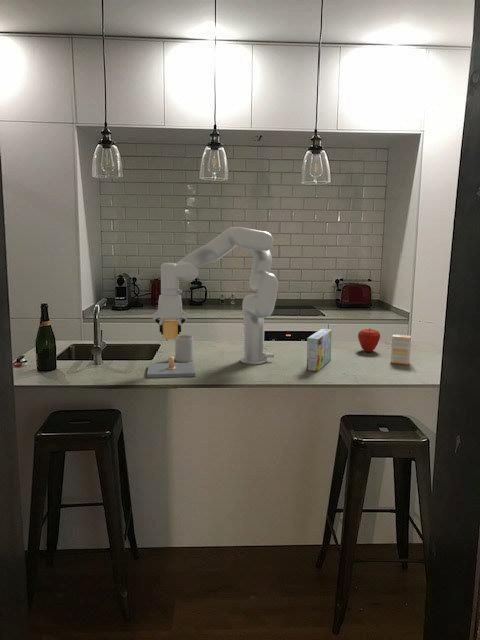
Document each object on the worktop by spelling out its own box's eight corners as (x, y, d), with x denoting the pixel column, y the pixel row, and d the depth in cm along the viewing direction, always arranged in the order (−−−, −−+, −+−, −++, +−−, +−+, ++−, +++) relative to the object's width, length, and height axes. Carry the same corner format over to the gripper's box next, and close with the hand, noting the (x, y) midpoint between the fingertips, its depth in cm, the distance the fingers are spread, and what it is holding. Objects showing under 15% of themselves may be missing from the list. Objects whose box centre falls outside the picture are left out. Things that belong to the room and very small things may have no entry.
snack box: (319, 358, 239) (321, 328, 237) (331, 360, 237) (332, 329, 234) (305, 370, 221) (306, 337, 218) (317, 372, 218) (319, 338, 215)
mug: (192, 362, 231) (192, 339, 229) (174, 362, 231) (174, 339, 229) (194, 355, 243) (194, 333, 241) (177, 355, 243) (176, 333, 241)
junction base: (194, 365, 226) (193, 351, 225) (195, 376, 210) (195, 361, 209) (149, 366, 224) (148, 352, 222) (147, 377, 208) (146, 362, 207)
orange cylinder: (178, 335, 217) (177, 319, 216) (178, 338, 211) (177, 322, 210) (163, 335, 217) (162, 319, 215) (162, 338, 210) (162, 322, 209)
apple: (358, 347, 261) (360, 325, 259) (380, 349, 257) (381, 326, 255) (355, 352, 251) (357, 329, 249) (377, 354, 247) (379, 331, 245)
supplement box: (409, 362, 234) (411, 335, 232) (408, 365, 230) (410, 337, 227) (391, 360, 237) (393, 333, 235) (390, 363, 233) (391, 335, 231)
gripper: (190, 291, 215) (190, 331, 218) (149, 291, 213) (150, 332, 216) (190, 293, 208) (190, 335, 211) (148, 293, 205) (149, 336, 209)
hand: (170, 333), depth 214 cm, fingers closed on orange cylinder, 6 cm apart
